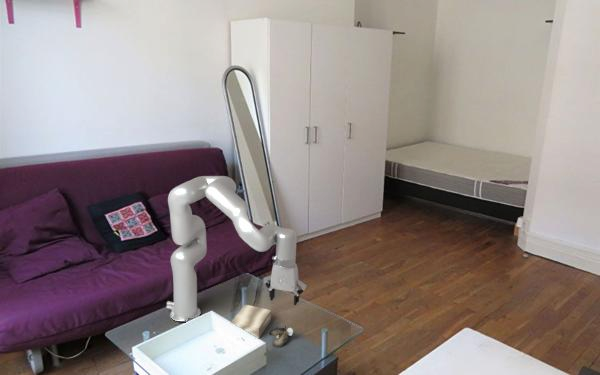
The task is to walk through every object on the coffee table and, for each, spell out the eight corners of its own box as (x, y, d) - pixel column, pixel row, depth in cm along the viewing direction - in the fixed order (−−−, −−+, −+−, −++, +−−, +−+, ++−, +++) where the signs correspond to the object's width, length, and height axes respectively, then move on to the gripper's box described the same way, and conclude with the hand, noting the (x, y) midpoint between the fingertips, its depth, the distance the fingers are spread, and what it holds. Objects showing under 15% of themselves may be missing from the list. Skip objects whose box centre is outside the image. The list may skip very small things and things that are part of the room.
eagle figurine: (276, 328, 192) (263, 335, 184) (286, 318, 189) (273, 324, 182) (287, 344, 189) (275, 351, 182) (297, 333, 187) (285, 340, 179)
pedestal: (230, 332, 190) (231, 321, 188) (244, 314, 203) (245, 304, 201) (258, 338, 186) (258, 328, 185) (270, 320, 199) (271, 310, 198)
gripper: (260, 261, 176) (259, 301, 181) (304, 269, 171) (302, 310, 176) (267, 253, 183) (266, 292, 188) (310, 260, 178) (308, 300, 183)
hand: (284, 301), depth 182 cm, fingers open, 9 cm apart
